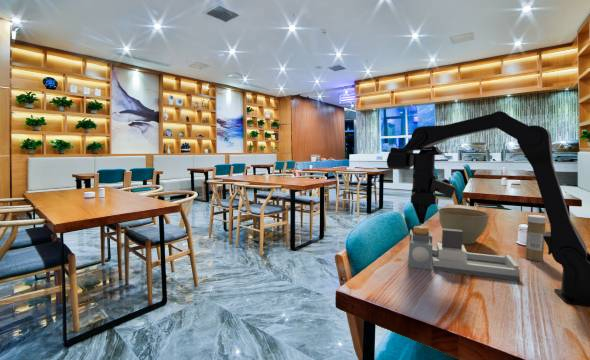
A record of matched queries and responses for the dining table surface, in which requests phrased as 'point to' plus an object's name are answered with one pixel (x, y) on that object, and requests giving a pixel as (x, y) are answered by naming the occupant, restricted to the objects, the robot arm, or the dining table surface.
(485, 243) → the dining table surface
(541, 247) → the sprinkles bottle
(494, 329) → the dining table surface
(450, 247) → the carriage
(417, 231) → the button
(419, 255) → the cabinet
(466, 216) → the planter bowl
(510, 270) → the rail track
